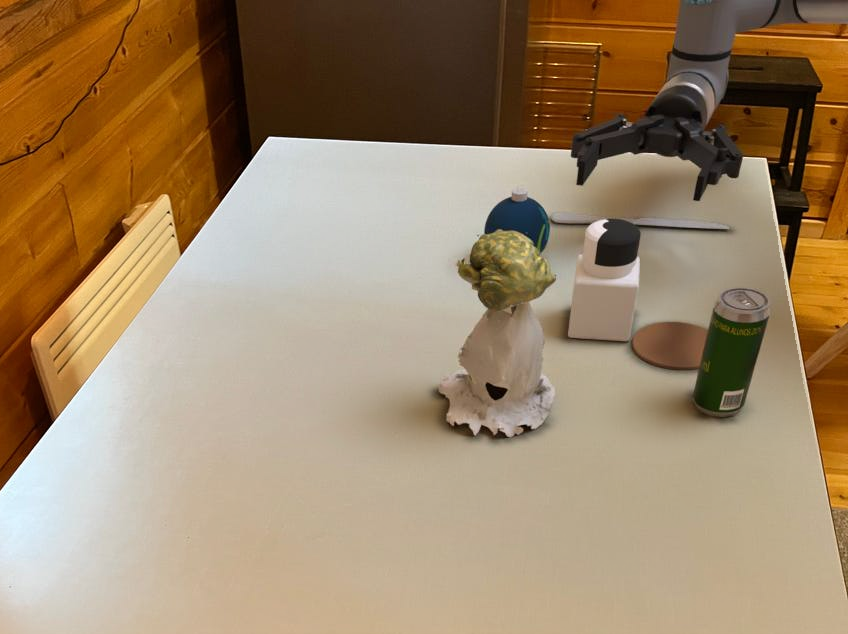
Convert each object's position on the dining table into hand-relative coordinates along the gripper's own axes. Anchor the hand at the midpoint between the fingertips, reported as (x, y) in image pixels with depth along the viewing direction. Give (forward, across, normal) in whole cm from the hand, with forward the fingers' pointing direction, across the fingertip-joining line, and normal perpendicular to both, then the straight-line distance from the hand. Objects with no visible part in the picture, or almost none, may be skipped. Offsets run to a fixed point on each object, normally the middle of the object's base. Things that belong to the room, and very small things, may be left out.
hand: (638, 181), depth 110 cm
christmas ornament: (-3, +15, -14) cm, 21 cm away
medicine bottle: (+9, 0, -14) cm, 16 cm away
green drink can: (+21, -16, -14) cm, 29 cm away
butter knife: (-20, +2, -14) cm, 24 cm away
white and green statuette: (+29, +7, -14) cm, 33 cm away
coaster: (+10, -9, -14) cm, 19 cm away
